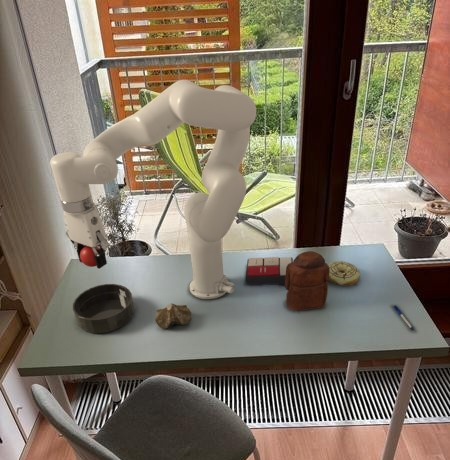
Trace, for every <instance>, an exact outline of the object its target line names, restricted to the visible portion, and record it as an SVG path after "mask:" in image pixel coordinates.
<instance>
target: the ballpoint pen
mask: <svg viewBox="0 0 450 460" xmlns="http://www.w3.org/2000/svg"><path fill="white" fill-rule="evenodd" d="M393 308H394V309H395V311H396V312H397V314H398V315H399V316H400V317H401V318H402V320H403V321H404V322H405V324H406V325H407V326H408V327H409V329H410V330H411V331H414V327H413V326H412V325H411V323H410V322H409V321H408V319H406V317H405V316H404V314H403V313H402V311H401V310H400V308H399V307H398V306H397V305H393Z"/></svg>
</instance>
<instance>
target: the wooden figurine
mask: <svg viewBox="0 0 450 460" xmlns="http://www.w3.org/2000/svg"><path fill="white" fill-rule="evenodd" d="M329 270H330V268H329V266H328V263H326V260H325V258H324V257H323V255H322V254H320V253H319V252H316V251H313V250H308V251H303V252H301V253H299V254H298V255H297V256H295V258H293V262H292V263H289V264H288V265H287V267H286V276H285V285H284V286H285V289H286V291H287V293H286V297H285V305H286V307H287V309H289V310H290V311H291V310H292V311H297V312H299V311H306V310H313V309H320V308H323V307H324V306H325V304H326V301H327V298H328V289H329V283H328V281H329Z"/></svg>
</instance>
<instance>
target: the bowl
mask: <svg viewBox="0 0 450 460" xmlns="http://www.w3.org/2000/svg"><path fill="white" fill-rule="evenodd" d="M135 307H136V306H135V303H134V298H133V293H132V292H131V290H130V289H129V288H128V287H126V286H124V285H121V284H117V283H105V284H104V283H103V284H98V285H95V286H93V287H90V288H88V289H86V290H84V291H83V292H81V293H80V294H78V295H77V296H76V298H75V299H74V300H73V303H72V311H73V314H74V318H75V320H76V323H77V325H78V327H79V328H80V329H81V330H83V331H85V332H87V333H93V334H103V333H109V332H113V331H116V330H118V329H120V328H121V327H124V326H126V324H127V323H129V322H130V321H131V320H132V318H133V317H134V315H135V311H136V308H135Z"/></svg>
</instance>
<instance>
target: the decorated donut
mask: <svg viewBox="0 0 450 460" xmlns="http://www.w3.org/2000/svg"><path fill="white" fill-rule="evenodd" d="M327 265H328V266H329V268H330V270H329V280H328V281H329V282H330V283H332V284H335V285H339V286H343V287H345V286H347V287H348V286H353V285H355V284H356V283H357V282H358V281H359V279H360V277H361V273H360V271H359V269H358V267H356V266H355V265H354V264H353V263H350V262H348V261H342V260H337V261H333V262H330V263H327Z"/></svg>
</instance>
